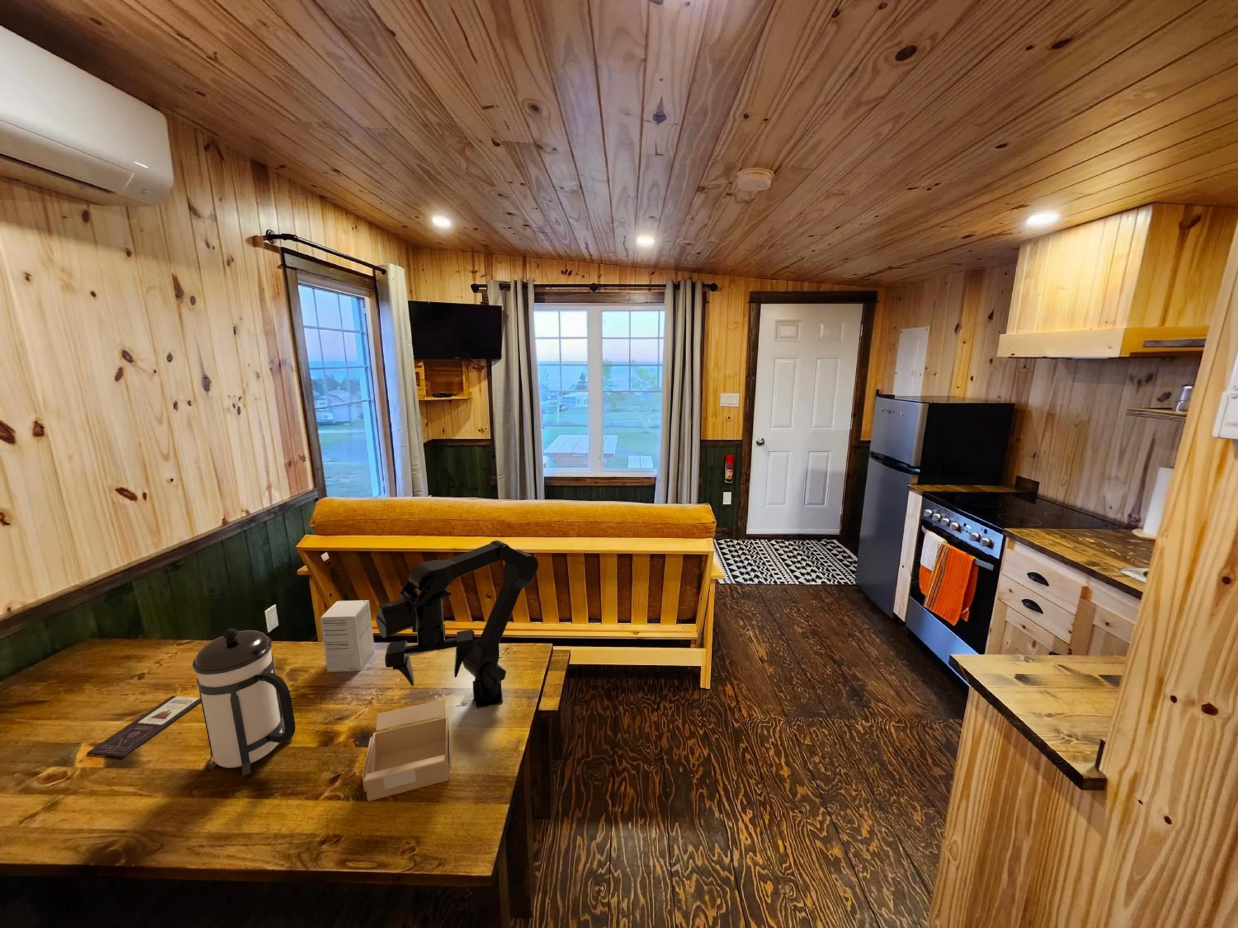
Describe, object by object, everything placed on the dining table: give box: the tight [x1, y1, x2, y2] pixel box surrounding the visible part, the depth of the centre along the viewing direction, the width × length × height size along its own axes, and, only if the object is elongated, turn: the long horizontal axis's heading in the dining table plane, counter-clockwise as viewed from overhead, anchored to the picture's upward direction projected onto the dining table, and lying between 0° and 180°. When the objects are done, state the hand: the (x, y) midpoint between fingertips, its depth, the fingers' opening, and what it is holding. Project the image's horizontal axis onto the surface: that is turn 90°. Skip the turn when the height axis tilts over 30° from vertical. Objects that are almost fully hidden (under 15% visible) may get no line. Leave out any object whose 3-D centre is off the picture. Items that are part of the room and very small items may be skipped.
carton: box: [361, 715, 453, 802], centre depth 98 cm, size 16×12×6 cm
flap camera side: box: [362, 755, 445, 783], centre depth 91 cm, size 14×4×1 cm, turn 109°
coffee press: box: [192, 627, 296, 779], centre depth 99 cm, size 17×16×30 cm
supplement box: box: [319, 599, 376, 673], centre depth 133 cm, size 10×9×17 cm
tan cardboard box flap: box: [375, 699, 446, 732], centre depth 104 cm, size 14×4×1 cm, turn 109°
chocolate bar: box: [86, 695, 201, 759], centre depth 110 cm, size 9×1×18 cm
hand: (434, 680), depth 108 cm, fingers open, 9 cm apart
